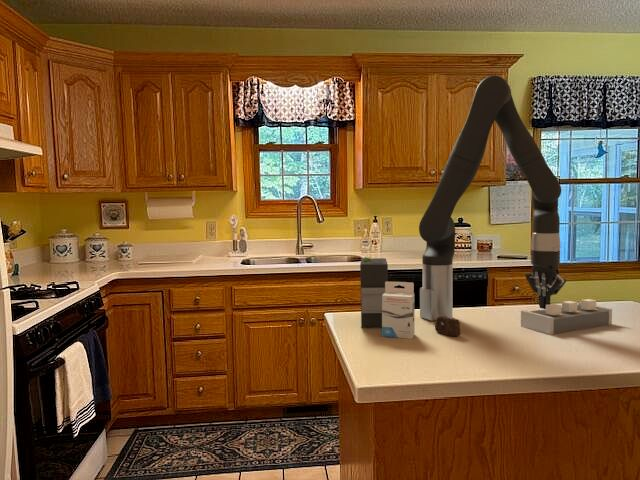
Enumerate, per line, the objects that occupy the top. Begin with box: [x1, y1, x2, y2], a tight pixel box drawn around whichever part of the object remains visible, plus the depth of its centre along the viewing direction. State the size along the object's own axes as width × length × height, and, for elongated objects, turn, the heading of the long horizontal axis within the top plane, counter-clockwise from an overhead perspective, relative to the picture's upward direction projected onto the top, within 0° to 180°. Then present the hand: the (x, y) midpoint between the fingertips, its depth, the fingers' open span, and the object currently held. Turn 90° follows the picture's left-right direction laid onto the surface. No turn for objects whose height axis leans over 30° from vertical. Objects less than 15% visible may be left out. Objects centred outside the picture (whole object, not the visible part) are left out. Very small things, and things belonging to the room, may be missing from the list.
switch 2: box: [561, 300, 578, 312], centre depth 142 cm, size 3×2×2 cm
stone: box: [434, 316, 461, 337], centre depth 136 cm, size 8×3×5 cm, turn 33°
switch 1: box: [546, 303, 562, 315], centre depth 139 cm, size 3×2×2 cm
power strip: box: [520, 301, 613, 335], centre depth 143 cm, size 24×10×5 cm, turn 113°
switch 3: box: [580, 298, 597, 310], centre depth 144 cm, size 3×2×2 cm
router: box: [359, 256, 389, 329], centre depth 152 cm, size 8×18×20 cm, turn 174°
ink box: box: [381, 281, 415, 340], centre depth 136 cm, size 8×5×15 cm, turn 72°
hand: (544, 308), depth 142 cm, fingers closed
